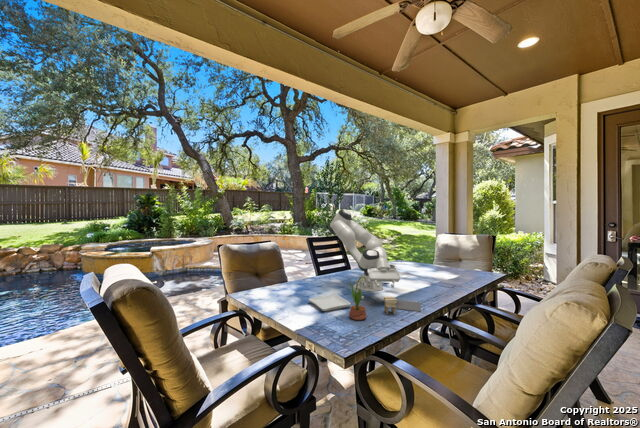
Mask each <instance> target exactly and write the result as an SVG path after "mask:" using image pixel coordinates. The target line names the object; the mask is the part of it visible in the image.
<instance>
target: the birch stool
mask: <svg viewBox="0 0 640 428" xmlns="http://www.w3.org/2000/svg"><path fill="white" fill-rule="evenodd" d="M383 300H384V302H383V303H384V305H383V307H384V308H383V310H384V313H385V315H387V316H388V315H389V308H390V309H391V310H390V312H392V315H396V309H395V308H396V303H397V300H398V299H397V298H396V297H395V296H391V295H390V296H386V295H385V296H383Z"/></svg>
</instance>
